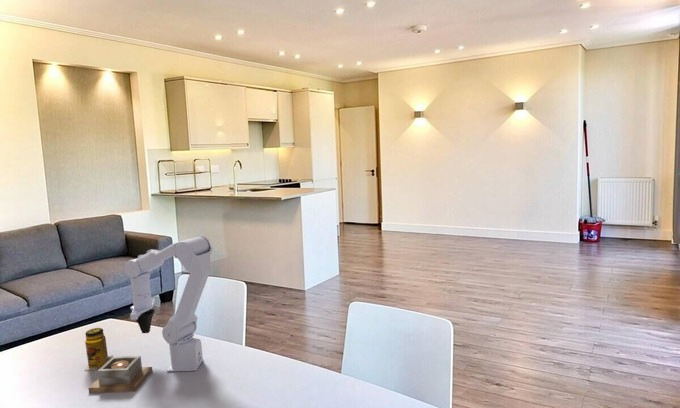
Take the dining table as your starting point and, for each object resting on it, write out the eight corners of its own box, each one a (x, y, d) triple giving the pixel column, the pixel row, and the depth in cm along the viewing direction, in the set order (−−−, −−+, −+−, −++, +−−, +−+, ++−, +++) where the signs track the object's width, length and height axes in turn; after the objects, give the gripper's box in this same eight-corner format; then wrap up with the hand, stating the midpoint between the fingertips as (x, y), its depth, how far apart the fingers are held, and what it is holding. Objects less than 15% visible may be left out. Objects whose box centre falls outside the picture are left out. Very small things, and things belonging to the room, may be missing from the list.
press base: (152, 371, 152) (150, 353, 151) (135, 391, 140) (133, 372, 139) (109, 372, 153) (107, 355, 152) (88, 392, 141) (86, 373, 140)
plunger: (135, 370, 149) (133, 359, 149) (126, 380, 143) (124, 368, 143) (116, 371, 149) (115, 360, 149) (106, 381, 143) (105, 369, 143)
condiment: (85, 371, 155) (80, 336, 153) (90, 359, 163) (85, 326, 161) (109, 366, 157) (105, 332, 155) (113, 356, 165) (109, 323, 163)
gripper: (139, 287, 165) (143, 324, 167) (119, 301, 151) (124, 342, 153) (159, 286, 165) (163, 323, 167) (141, 300, 151) (145, 341, 153)
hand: (146, 332), depth 160 cm, fingers closed
